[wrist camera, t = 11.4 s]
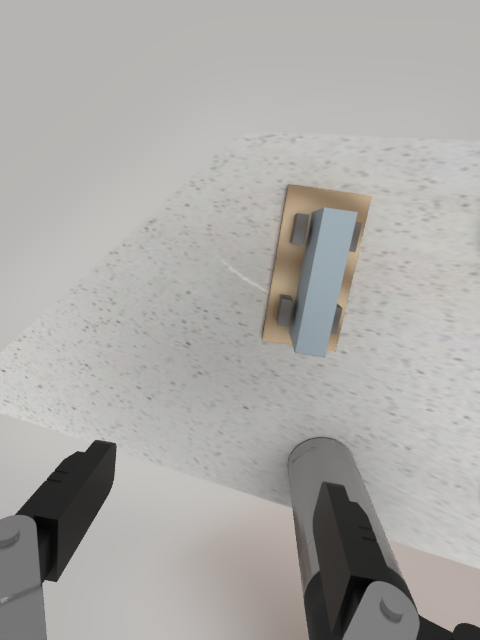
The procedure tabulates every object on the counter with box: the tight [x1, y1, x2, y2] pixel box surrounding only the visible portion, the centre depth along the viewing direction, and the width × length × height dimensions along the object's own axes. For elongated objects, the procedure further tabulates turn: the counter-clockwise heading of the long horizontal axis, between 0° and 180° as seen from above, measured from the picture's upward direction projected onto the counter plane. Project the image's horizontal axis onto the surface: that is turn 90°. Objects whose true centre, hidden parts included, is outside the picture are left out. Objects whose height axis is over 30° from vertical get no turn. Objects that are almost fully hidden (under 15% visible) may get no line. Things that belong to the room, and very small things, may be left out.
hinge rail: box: [262, 184, 372, 352], centre depth 37 cm, size 18×9×4 cm, turn 172°
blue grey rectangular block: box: [289, 207, 358, 358], centre depth 34 cm, size 14×3×7 cm, turn 172°
